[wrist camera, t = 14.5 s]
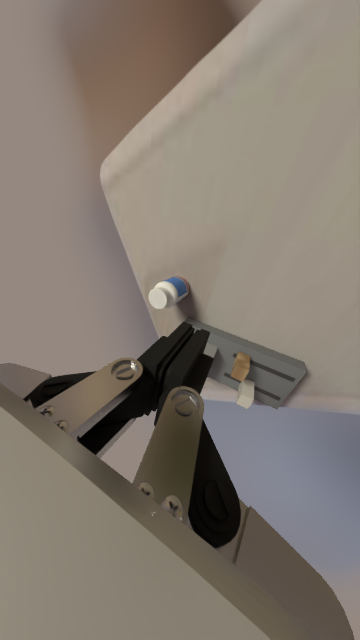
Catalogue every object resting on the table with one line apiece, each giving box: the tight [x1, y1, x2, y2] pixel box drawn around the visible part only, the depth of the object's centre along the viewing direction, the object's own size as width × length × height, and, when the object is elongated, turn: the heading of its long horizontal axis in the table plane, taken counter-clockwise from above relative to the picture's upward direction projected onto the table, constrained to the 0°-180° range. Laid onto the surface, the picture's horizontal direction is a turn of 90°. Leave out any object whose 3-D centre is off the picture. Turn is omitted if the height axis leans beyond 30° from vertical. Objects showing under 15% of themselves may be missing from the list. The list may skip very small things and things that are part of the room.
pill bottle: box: [149, 276, 189, 309], centre depth 35 cm, size 6×5×10 cm
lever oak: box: [231, 351, 250, 382], centre depth 33 cm, size 2×3×5 cm
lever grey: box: [236, 378, 254, 409], centre depth 35 cm, size 2×3×5 cm
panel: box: [184, 318, 307, 409], centre depth 37 cm, size 26×12×7 cm, turn 77°
